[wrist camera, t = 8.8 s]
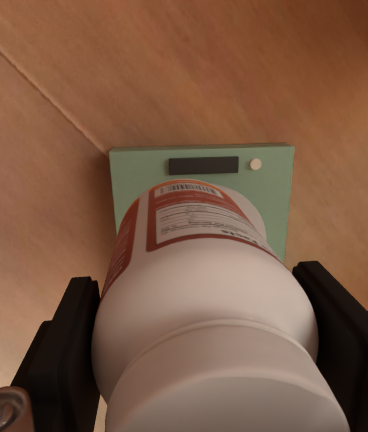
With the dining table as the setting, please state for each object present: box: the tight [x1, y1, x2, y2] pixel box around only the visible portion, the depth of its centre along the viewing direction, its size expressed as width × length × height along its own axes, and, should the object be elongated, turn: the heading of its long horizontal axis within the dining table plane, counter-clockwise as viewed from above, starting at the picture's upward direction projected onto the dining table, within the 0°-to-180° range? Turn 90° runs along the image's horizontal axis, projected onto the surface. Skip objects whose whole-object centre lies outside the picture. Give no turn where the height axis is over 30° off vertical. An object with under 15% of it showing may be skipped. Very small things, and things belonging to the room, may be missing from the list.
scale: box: [109, 143, 295, 264], centre depth 32 cm, size 16×16×3 cm
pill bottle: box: [91, 179, 350, 432], centre depth 11 cm, size 6×6×11 cm
